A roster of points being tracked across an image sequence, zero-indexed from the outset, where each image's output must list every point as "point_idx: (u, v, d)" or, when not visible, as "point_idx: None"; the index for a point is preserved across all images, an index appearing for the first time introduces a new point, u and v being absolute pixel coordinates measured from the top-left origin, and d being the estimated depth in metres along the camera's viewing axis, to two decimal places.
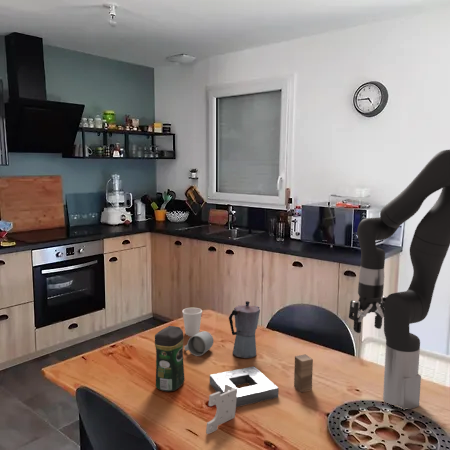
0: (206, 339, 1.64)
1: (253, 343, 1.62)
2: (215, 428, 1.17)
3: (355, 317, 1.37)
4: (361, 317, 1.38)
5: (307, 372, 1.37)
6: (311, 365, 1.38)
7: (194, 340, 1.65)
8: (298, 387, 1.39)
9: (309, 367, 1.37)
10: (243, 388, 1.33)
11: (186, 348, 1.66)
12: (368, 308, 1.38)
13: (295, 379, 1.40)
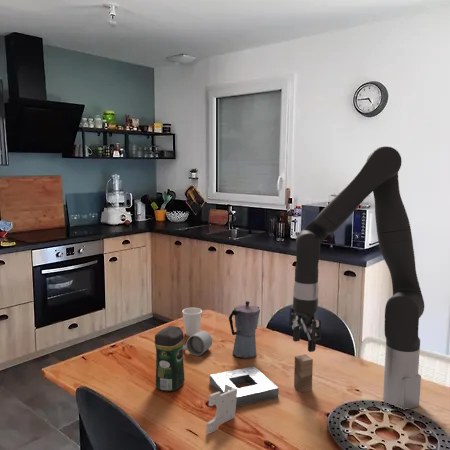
0: (205, 339, 1.64)
1: (253, 343, 1.62)
2: (215, 428, 1.17)
3: None
4: None
5: (306, 372, 1.37)
6: (311, 365, 1.38)
7: (193, 340, 1.65)
8: (298, 387, 1.39)
9: (309, 367, 1.37)
10: (243, 388, 1.33)
11: (185, 348, 1.67)
12: None
13: (295, 379, 1.40)
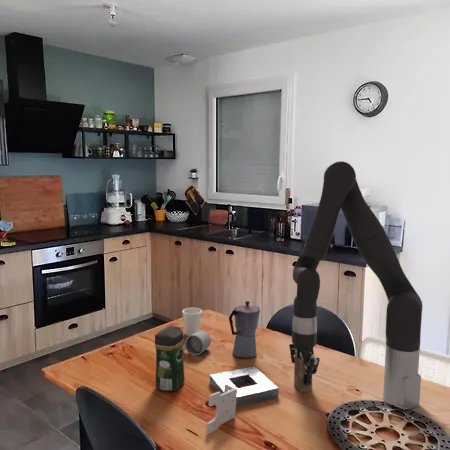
0: (203, 339, 1.64)
1: (253, 343, 1.62)
2: (215, 428, 1.17)
3: None
4: None
5: None
6: None
7: (192, 340, 1.65)
8: (298, 387, 1.39)
9: None
10: (243, 388, 1.33)
11: (184, 347, 1.67)
12: None
13: (295, 379, 1.40)
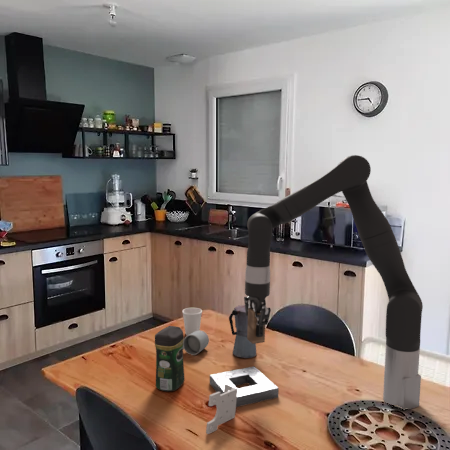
0: (201, 338, 1.64)
1: None
2: (215, 428, 1.17)
3: None
4: None
5: None
6: None
7: (189, 339, 1.66)
8: (250, 339, 1.36)
9: None
10: (243, 388, 1.33)
11: None
12: None
13: (248, 331, 1.37)
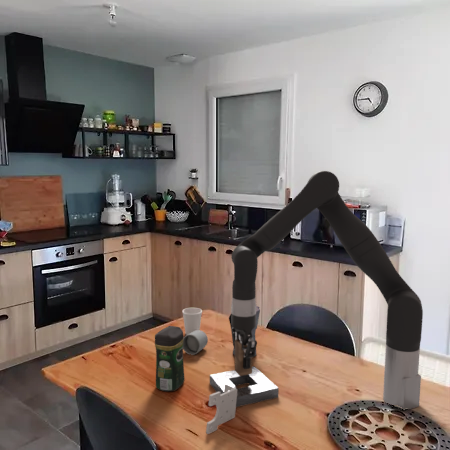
0: (200, 338, 1.65)
1: None
2: (215, 428, 1.17)
3: None
4: None
5: None
6: None
7: (188, 339, 1.66)
8: (238, 371, 1.36)
9: None
10: (243, 388, 1.33)
11: None
12: None
13: (235, 363, 1.38)
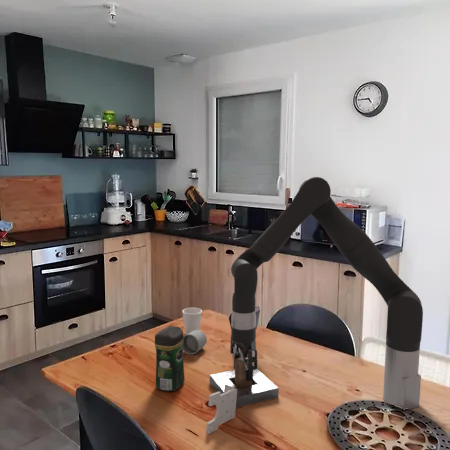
0: (199, 338, 1.65)
1: (253, 343, 1.62)
2: (215, 428, 1.17)
3: None
4: None
5: None
6: None
7: (187, 339, 1.66)
8: None
9: None
10: (243, 388, 1.33)
11: None
12: None
13: (235, 382, 1.38)
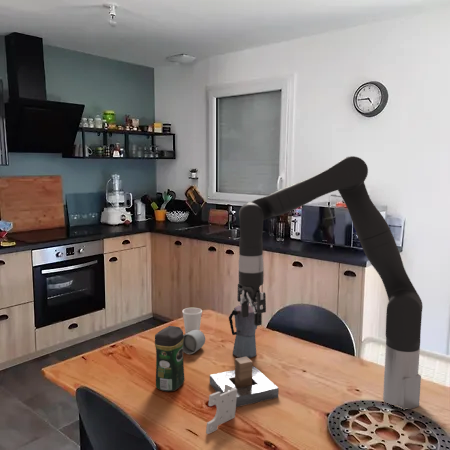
0: (198, 337, 1.65)
1: (253, 343, 1.62)
2: (215, 428, 1.17)
3: None
4: None
5: (246, 374, 1.36)
6: (251, 367, 1.36)
7: (186, 338, 1.67)
8: None
9: (249, 369, 1.36)
10: (243, 388, 1.33)
11: None
12: None
13: (235, 382, 1.38)
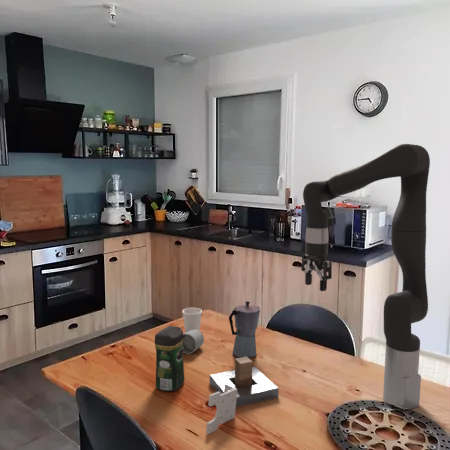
0: (196, 337, 1.65)
1: (253, 343, 1.62)
2: (215, 428, 1.17)
3: None
4: None
5: (246, 374, 1.36)
6: (251, 367, 1.36)
7: (185, 338, 1.67)
8: None
9: (249, 369, 1.36)
10: (243, 388, 1.33)
11: None
12: None
13: (235, 382, 1.38)
